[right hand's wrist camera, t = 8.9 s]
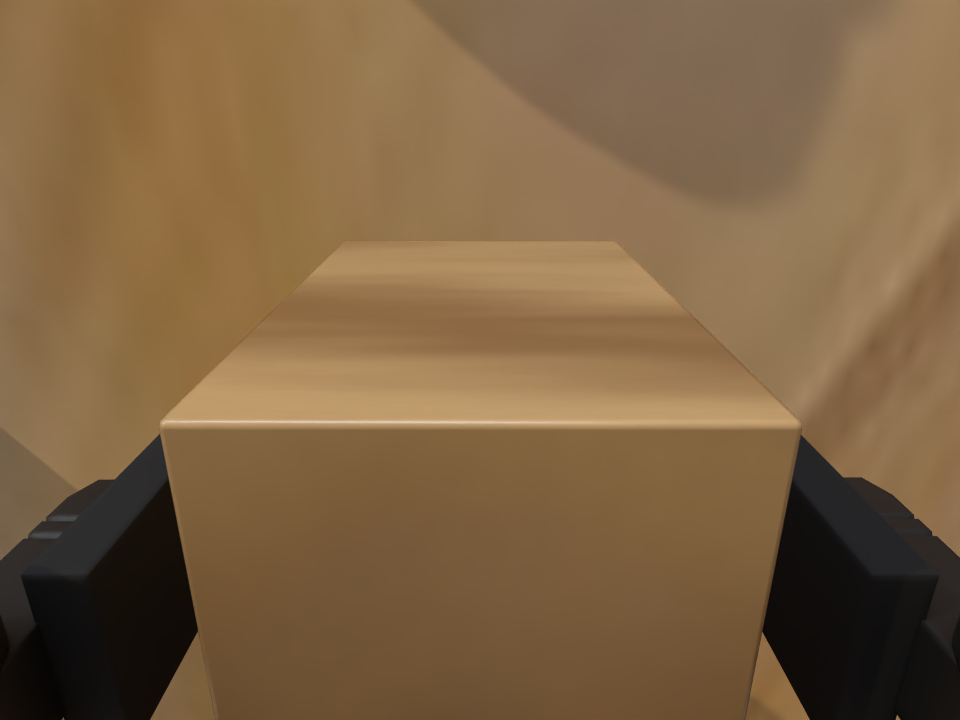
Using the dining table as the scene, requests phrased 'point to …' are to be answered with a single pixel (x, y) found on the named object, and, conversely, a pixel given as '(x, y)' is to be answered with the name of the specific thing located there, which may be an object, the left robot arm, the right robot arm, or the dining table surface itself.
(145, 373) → the dining table surface
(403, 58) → the dining table surface
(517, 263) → the block
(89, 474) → the dining table surface
